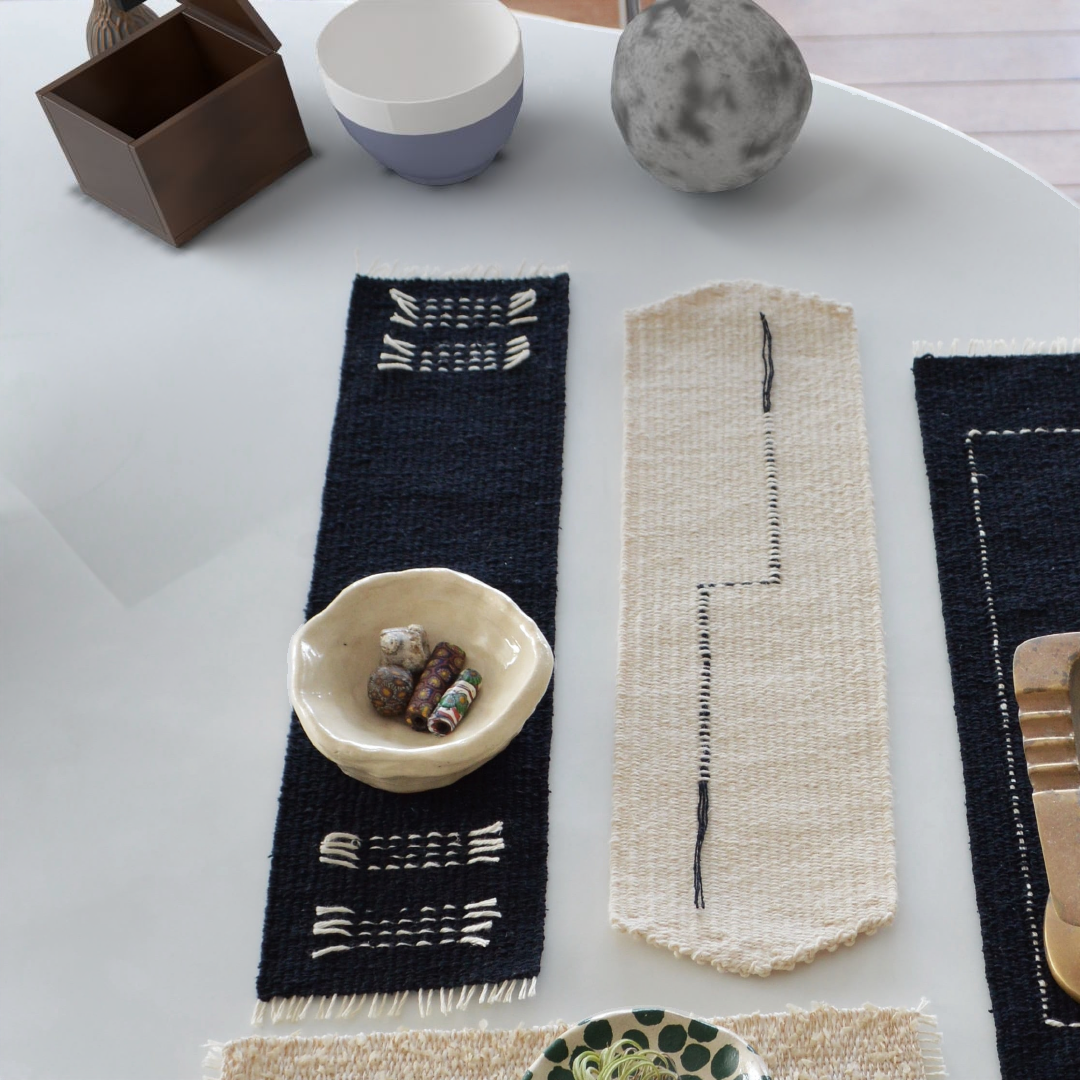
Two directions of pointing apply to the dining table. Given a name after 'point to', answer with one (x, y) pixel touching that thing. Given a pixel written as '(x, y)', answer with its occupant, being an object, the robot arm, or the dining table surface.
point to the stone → (708, 92)
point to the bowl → (425, 82)
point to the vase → (114, 24)
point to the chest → (177, 123)
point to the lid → (237, 19)
